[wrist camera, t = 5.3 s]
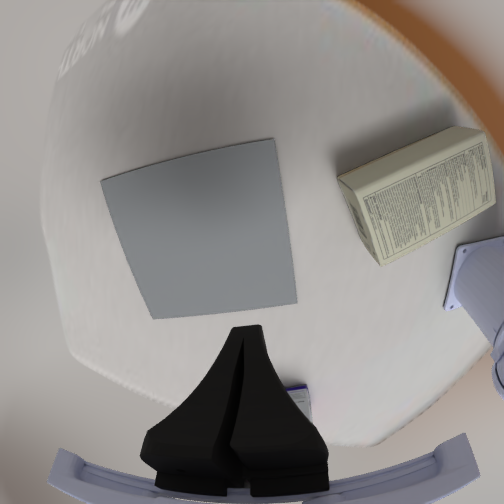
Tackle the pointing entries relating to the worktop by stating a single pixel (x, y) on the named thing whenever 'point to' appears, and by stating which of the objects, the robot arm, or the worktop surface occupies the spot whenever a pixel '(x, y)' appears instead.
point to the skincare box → (420, 191)
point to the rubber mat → (206, 231)
